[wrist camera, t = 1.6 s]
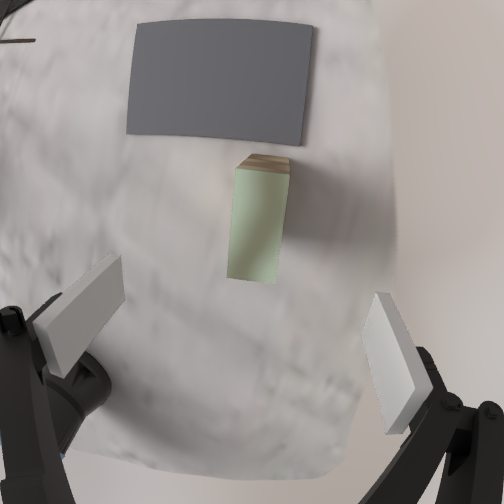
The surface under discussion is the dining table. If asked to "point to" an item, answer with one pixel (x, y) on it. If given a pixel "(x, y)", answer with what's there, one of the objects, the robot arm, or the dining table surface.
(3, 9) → the sushi plate
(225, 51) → the rubber mat
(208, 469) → the dining table surface
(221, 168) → the dining table surface
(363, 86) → the dining table surface
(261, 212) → the oak slab
